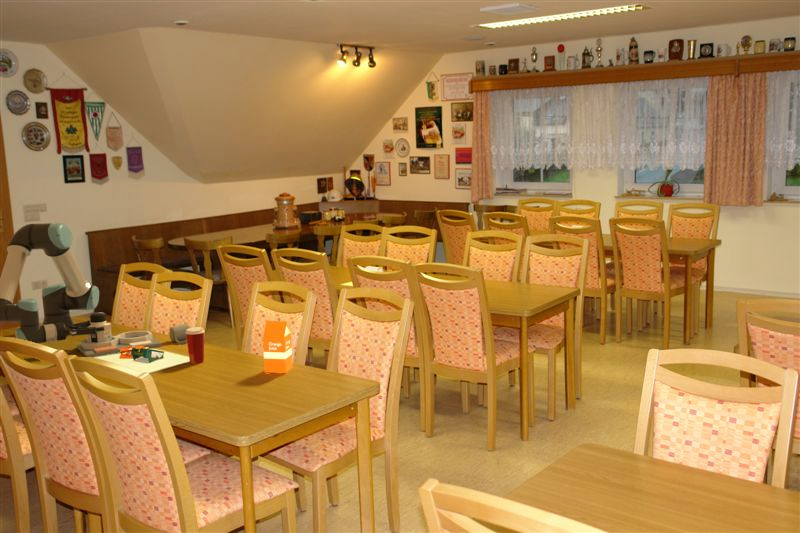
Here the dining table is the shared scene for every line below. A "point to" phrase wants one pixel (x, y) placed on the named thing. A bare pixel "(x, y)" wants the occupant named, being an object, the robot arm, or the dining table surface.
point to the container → (100, 337)
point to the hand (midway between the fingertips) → (108, 325)
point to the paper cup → (195, 344)
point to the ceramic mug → (179, 333)
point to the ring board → (93, 354)
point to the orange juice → (277, 347)
